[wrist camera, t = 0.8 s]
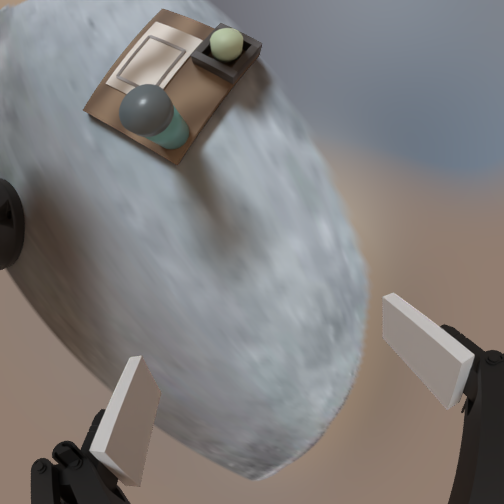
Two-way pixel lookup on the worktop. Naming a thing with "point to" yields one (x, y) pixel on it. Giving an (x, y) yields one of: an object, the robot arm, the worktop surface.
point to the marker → (153, 116)
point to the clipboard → (172, 75)
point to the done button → (226, 44)
